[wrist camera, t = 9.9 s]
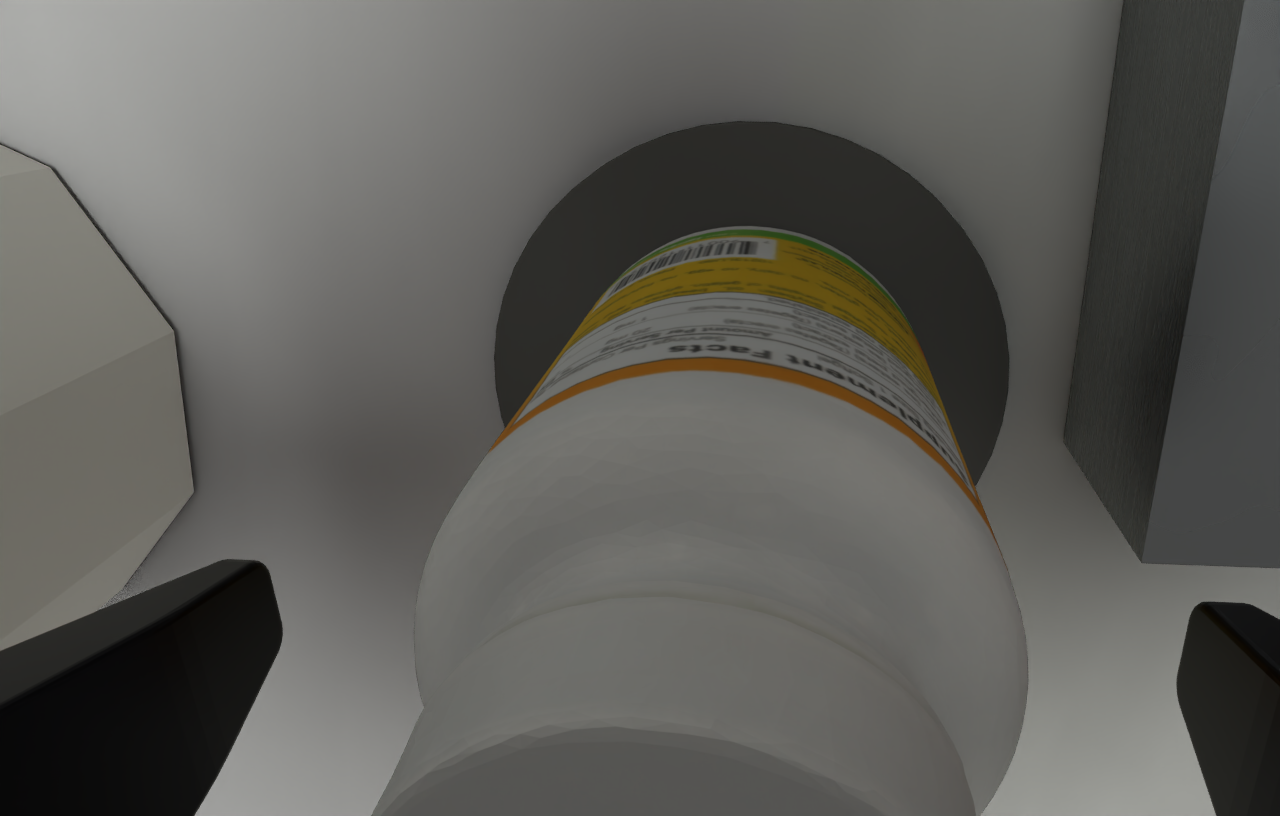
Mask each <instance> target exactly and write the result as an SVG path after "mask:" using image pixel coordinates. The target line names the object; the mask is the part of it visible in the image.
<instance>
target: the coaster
mask: <svg viewBox="0 0 1280 816" xmlns="http://www.w3.org/2000/svg"><path fill="white" fill-rule="evenodd" d="M733 226H757V227H769V228H776V229H782V230H787V231H791V232H796V233H800V234H803V235H806V236H809V237H812V238H815V239H817V240H819V241H822V242H824V243H826V244H828V245H831V246H832V247H834V248H836V249H837V250H839V251H841V252H843V253H844V254H846V255H848V256H850V257H851V258H852V259H853V260H855V261H856V262H857V263H858V264H860V265H861V266H862V267H863V268H865V269H866V270H867V271H868V272H869V273H871V274H872V275H873V276H874V277H875V278H876V279H877V280H878V281H879V282H880V283H881V284H882V285H883V286H884V287H885V289H886V290H887V291H888V292H889V293H890V295H891V296H892V297H893V298H894V300H895V301H896V303H897V304H898V305H899V307H900V308H901V310H902V311H903V313H904V315H905V317H906V318H907V320H908V322H909V323H910V325H911V327H912V329H913V331H914V333H915V335H916V337H917V339H918V342H919V344H920V346H921V349H922V351H923V353H924V356H925V359H926V361H927V364H928V366H929V369H930V372H931V374H932V377H933V379H934V382H935V385H936V388H937V390H938V393H939V396H940V398H941V401H942V403H943V406H944V409H945V411H946V414H947V417H948V419H949V422H950V425H951V427H952V430H953V432H954V435H955V437H956V440H957V443H958V445H959V448H960V450H961V453H962V456H963V458H964V461H965V463H966V466H967V468H968V471H969V474H970V476H971V479H972V481H973V484H974V486H975V485H976V484H977V482H978V481H979V479H980V477H981V475H982V473H983V471H984V469H985V467H986V465H987V463H988V461H989V459H990V457H991V455H992V452H993V449H994V446H995V443H996V440H997V437H998V434H999V431H1000V429H1001V426H1002V422H1003V416H1004V411H1005V406H1006V400H1007V395H1008V379H1009V352H1008V344H1007V335H1006V326H1005V322H1004V318H1003V314H1002V311H1001V307H1000V303H999V300H998V296H997V292H996V290H995V288H994V285H993V283H992V281H991V278H990V276H989V274H988V272H987V269H986V267H985V265H984V262H983V260H982V259H981V257H980V255H979V254H978V252H977V251H976V249H975V247H974V246H973V244H972V243H971V241H970V239H969V238H968V236H967V235H966V233H965V231H964V230H963V229H962V228H961V226H960V225H959V224H958V223H957V222H956V220H955V219H954V218H953V217H952V216H951V215H950V213H949V212H948V211H947V210H946V209H945V208H944V206H943V205H942V204H941V203H940V202H939V201H938V199H937V198H936V197H935V196H934V195H932V194H931V193H930V192H929V191H928V190H927V189H926V188H924V187H923V186H922V185H921V184H920V183H919V182H918V181H916V180H915V179H914V178H913V177H912V176H911V175H910V174H908V173H907V172H905V171H904V170H902V169H900V168H899V167H897V166H896V165H894V164H893V163H891V162H890V161H888V160H887V159H885V158H884V157H882V156H881V155H879V154H877V153H875V152H873V151H870V150H868V149H866V148H864V147H862V146H860V145H858V144H856V143H853V142H851V141H849V140H847V139H844V138H841V137H838V136H835V135H831V134H828V133H825V132H822V131H818V130H815V129H812V128H807V127H800V126H794V125H788V124H782V123H776V122H745V121H737V122H728V123H718V124H709V125H701V126H697V127H693V128H689V129H685V130H681V131H677V132H673V133H669V134H666V135H664V136H661V137H659V138H656V139H654V140H651V141H649V142H646V143H644V144H641V145H639V146H636V147H634V148H633V149H631V150H629V151H627V152H626V153H624V154H622V155H620V156H618V157H617V158H615V159H613V160H611V161H610V162H608V163H606V164H605V165H603V166H602V167H600V168H599V169H598V170H596V171H595V172H594V173H593V174H591V175H590V176H589V177H587V178H586V179H585V180H583V181H582V182H581V183H580V184H578V185H577V186H576V187H574V188H573V189H572V190H571V191H570V192H569V193H568V194H567V195H566V196H565V197H564V198H563V199H562V200H561V201H560V202H559V203H558V204H557V205H556V206H555V207H554V208H553V209H552V210H551V211H550V212H549V214H548V215H547V216H546V218H545V219H544V220H543V222H542V223H541V225H540V226H539V227H538V229H537V230H536V231H535V233H534V234H533V235H532V237H531V238H530V239H529V241H528V243H527V245H526V247H525V249H524V251H523V252H522V254H521V256H520V258H519V260H518V262H517V264H516V265H515V267H514V270H513V272H512V275H511V278H510V280H509V283H508V286H507V289H506V291H505V294H504V297H503V301H502V305H501V310H500V314H499V319H498V323H497V329H496V342H495V354H494V362H495V380H496V391H497V396H498V401H499V406H500V412H501V417H502V420H503V423H504V426H505V428H506V427H507V425H508V424H509V422H510V421H511V420H512V418H513V417H514V416H515V414H516V413H517V412H518V410H519V409H520V408H521V406H522V405H523V403H524V402H525V401H526V399H527V398H528V397H529V395H530V394H531V392H532V391H533V390H534V388H535V387H536V386H537V384H538V383H539V381H540V380H541V379H542V377H543V376H544V375H545V373H546V372H547V370H548V369H549V368H550V366H551V365H552V364H553V362H554V361H555V359H556V358H557V357H558V355H559V354H560V353H561V351H562V350H563V348H564V347H565V346H566V344H567V343H568V341H569V340H570V339H571V337H572V336H573V334H574V333H575V332H576V330H577V329H578V328H579V326H580V325H581V323H582V322H583V320H584V319H585V317H586V316H587V315H588V313H589V312H590V311H591V309H592V308H593V307H594V305H595V304H596V302H597V301H598V300H599V298H600V297H601V296H602V295H603V293H604V292H605V291H606V290H607V289H608V288H609V287H610V286H611V285H612V284H613V283H614V282H615V281H616V280H617V279H618V278H619V277H620V276H621V275H622V274H623V273H624V272H625V271H626V270H627V269H628V268H630V267H631V266H632V265H633V264H634V263H636V262H637V261H639V260H640V259H641V258H643V257H644V256H646V255H647V254H649V253H651V252H652V251H654V250H656V249H657V248H659V247H661V246H663V245H665V244H667V243H669V242H671V241H674V240H676V239H678V238H681V237H684V236H687V235H690V234H693V233H696V232H701V231H705V230H710V229H716V228H723V227H733Z"/></svg>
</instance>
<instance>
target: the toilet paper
mask: <svg viewBox="0 0 1280 816" xmlns="http://www.w3.org/2000/svg"><path fill="white" fill-rule="evenodd" d="M193 493H194V488H193V480H192V472H191V464H190V456H189V448H188V440H187V432H186V424H185V416H184V408H183V400H182V392H181V384H180V376H179V368H178V360H177V352H176V344H175V336H174V331H173V329H172V328H171V327H170V325H169V324H168V323H167V321H166V320H165V319H164V317H163V316H162V315H161V313H160V312H159V311H158V310H157V308H156V307H155V306H154V304H153V303H152V302H151V300H150V299H149V298H148V296H147V295H146V294H145V292H144V291H143V290H142V288H141V287H140V286H139V284H138V283H137V282H136V280H135V279H134V278H133V276H132V275H131V274H130V272H129V271H128V270H127V269H126V267H125V266H124V265H123V263H122V262H121V261H120V259H119V258H118V257H117V255H116V254H115V253H114V251H113V250H112V249H111V247H110V246H109V245H108V243H107V242H106V241H105V239H104V238H103V237H102V235H101V234H100V233H99V232H98V230H97V229H96V228H95V226H94V225H93V224H92V222H91V221H90V220H89V218H88V217H87V216H86V214H85V213H84V212H83V210H82V209H81V208H80V206H79V205H78V204H77V202H76V201H75V200H74V198H73V197H72V196H71V195H70V193H69V192H68V191H67V189H66V188H65V187H64V185H63V184H62V183H61V181H60V180H59V179H58V177H57V176H56V175H55V173H54V172H53V171H52V169H51V168H50V167H48V166H46V165H44V164H41V163H39V162H37V161H35V160H33V159H31V158H28V157H26V156H24V155H22V154H20V153H18V152H15V151H13V150H11V149H9V148H7V147H5V146H2V145H0V651H1V650H3V649H6V648H8V647H11V646H13V645H16V644H18V643H20V642H23V641H25V640H28V639H30V638H33V637H35V636H38V635H40V634H42V633H45V632H47V631H50V630H52V629H55V628H57V627H60V626H62V625H64V624H67V623H69V622H72V621H74V620H77V619H79V618H82V617H84V616H86V615H89V614H91V613H94V612H96V611H97V610H98V609H99V608H100V607H102V606H103V605H104V604H105V603H106V602H108V601H109V600H110V599H111V598H112V597H114V596H115V595H116V594H117V593H118V592H120V591H121V590H122V589H123V587H124V586H125V585H126V583H127V582H128V581H129V579H130V578H131V577H132V575H133V574H134V572H135V571H136V570H137V568H138V567H139V566H140V564H141V563H142V562H143V560H144V559H145V558H146V556H147V555H148V554H149V552H150V551H151V550H152V548H153V547H154V545H155V544H156V543H157V541H158V540H159V539H160V537H161V536H162V535H163V533H164V532H165V531H166V529H167V528H168V527H169V525H170V524H171V523H172V521H173V520H174V518H175V517H176V516H177V514H178V513H179V512H180V510H181V509H182V508H183V506H184V505H185V504H186V502H187V501H188V500H189V498H190V497H191V496H192V494H193Z"/></svg>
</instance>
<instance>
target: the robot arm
mask: <svg viewBox="0 0 1280 816" xmlns="http://www.w3.org/2000/svg"><path fill="white" fill-rule="evenodd" d="M282 636H283V627H282V621H281V617H280V613H279V609H278V605H277V601H276V597H275V593H274V588H273V584H272V580H271V576H270V573H269V570H268V569H267V567H266V566H265V565H264V564H263V563H261V562H260V561H256V560H236V559H226V560H221V561H218V562H216V563H213V564H211V565H208V566H206V567H204V568H201V569H199V570H196V571H194V572H191V573H189V574H187V575H184V576H182V577H179V578H177V579H174V580H172V581H169V582H167V583H165V584H162V585H160V586H157V587H155V588H152V589H150V590H147V591H145V592H143V593H140V594H138V595H135V596H133V597H130V598H128V599H125V600H123V601H121V602H118V603H116V604H113V605H111V606H108V607H106V608H103V609H101V610H99V611H96V612H94V613H91V614H89V615H86V616H84V617H82V618H79V619H77V620H74V621H72V622H69V623H67V624H64V625H62V626H60V627H57V628H55V629H52V630H50V631H47V632H45V633H42V634H40V635H38V636H35V637H33V638H30V639H28V640H25V641H23V642H20V643H18V644H16V645H13V646H11V647H8V648H6V649H3V650H1V651H0V816H194V815H195V814H196V812H197V810H198V809H199V807H200V805H201V804H202V802H203V801H204V799H205V797H206V795H207V794H208V792H209V790H210V789H211V787H212V785H213V783H214V782H215V780H216V778H217V776H218V774H219V772H220V771H221V769H222V767H223V765H224V763H225V761H226V759H227V757H228V755H229V753H230V751H231V749H232V747H233V745H234V743H235V741H236V739H237V737H238V735H239V732H240V730H241V728H242V726H243V724H244V722H245V720H246V718H247V716H248V714H249V712H250V710H251V708H252V706H253V703H254V701H255V699H256V697H257V695H258V693H259V691H260V689H261V687H262V685H263V683H264V681H265V679H266V677H267V675H268V672H269V670H270V668H271V666H272V664H273V662H274V660H275V658H276V656H277V654H278V652H279V649H280V646H281V642H282ZM1177 696H1178V701H1179V705H1180V708H1181V711H1182V714H1183V717H1184V720H1185V723H1186V726H1187V729H1188V732H1189V735H1190V738H1191V741H1192V744H1193V747H1194V750H1195V753H1196V756H1197V759H1198V762H1199V765H1200V768H1201V771H1202V774H1203V777H1204V780H1205V783H1206V786H1207V789H1208V792H1209V795H1210V798H1211V801H1212V804H1213V807H1214V810H1215V813H1216V816H1280V620H1279V619H1277V618H1275V617H1274V616H1272V615H1270V614H1268V613H1266V612H1264V611H1262V610H1260V609H1259V608H1257V607H1255V606H1253V605H1250V604H1245V603H1229V602H1201V603H1200V604H1198V605H1197V606H1195V607H1194V609H1193V611H1192V613H1191V615H1190V618H1189V623H1188V627H1187V632H1186V637H1185V641H1184V646H1183V651H1182V656H1181V660H1180V665H1179V670H1178V675H1177Z"/></svg>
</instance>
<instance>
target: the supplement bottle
mask: <svg viewBox="0 0 1280 816" xmlns="http://www.w3.org/2000/svg"><path fill="white" fill-rule="evenodd" d="M414 648H415V665H416V674H417V681H418V686H419V691H420V695H421V699H422V703H423V706H424V709H423V711H422V713H421V715H420V717H419V719H418V721H417V722H416V724H415V727H414V729H413V731H412V734H411V736H410V739H409V741H408V743H407V746H406V748H405V750H404V752H403V754H402V756H401V759H400V761H399V763H398V765H397V767H396V769H395V771H394V774H393V776H392V778H391V780H390V782H389V783H388V785H387V787H386V789H385V791H384V793H383V795H382V797H381V798H380V800H379V802H378V804H377V806H376V808H375V810H374V812H373V814H372V815H371V816H980V815H981V813H982V812H983V811H984V809H985V808H986V806H987V805H988V804H989V802H990V801H991V799H992V798H993V796H994V794H995V793H996V791H997V789H998V787H999V785H1000V784H1001V782H1002V780H1003V778H1004V776H1005V774H1006V772H1007V770H1008V767H1009V765H1010V763H1011V760H1012V758H1013V756H1014V753H1015V750H1016V746H1017V743H1018V740H1019V736H1020V733H1021V729H1022V725H1023V719H1024V714H1025V708H1026V701H1027V691H1028V656H1027V646H1026V637H1025V632H1024V627H1023V622H1022V617H1021V613H1020V608H1019V605H1018V602H1017V599H1016V596H1015V592H1014V589H1013V586H1012V583H1011V579H1010V576H1009V573H1008V569H1007V567H1006V564H1005V562H1004V559H1003V557H1002V554H1001V551H1000V549H999V546H998V544H997V541H996V539H995V536H994V534H993V531H992V529H991V526H990V524H989V521H988V519H987V516H986V514H985V511H984V509H983V506H982V504H981V501H980V499H979V496H978V494H977V491H976V489H975V486H974V484H973V481H972V479H971V476H970V474H969V471H968V468H967V466H966V463H965V461H964V458H963V456H962V453H961V450H960V448H959V445H958V443H957V440H956V437H955V435H954V432H953V430H952V427H951V425H950V422H949V419H948V417H947V414H946V411H945V409H944V406H943V403H942V401H941V398H940V396H939V393H938V390H937V388H936V385H935V382H934V379H933V377H932V374H931V372H930V369H929V366H928V364H927V361H926V359H925V356H924V353H923V351H922V349H921V346H920V344H919V342H918V339H917V337H916V335H915V333H914V331H913V329H912V327H911V325H910V323H909V322H908V320H907V318H906V317H905V315H904V313H903V311H902V310H901V308H900V307H899V305H898V304H897V303H896V301H895V300H894V298H893V297H892V296H891V295H890V293H889V292H888V291H887V290H886V289H885V287H884V286H883V285H882V284H881V283H880V282H879V281H878V280H877V279H876V278H875V277H874V276H873V275H872V274H871V273H869V272H868V271H867V270H866V269H865V268H863V267H862V266H861V265H860V264H858V263H857V262H856V261H855V260H853V259H852V258H851V257H850V256H848V255H846V254H844V253H843V252H841V251H839V250H837V249H836V248H834V247H832V246H831V245H828V244H826V243H824V242H822V241H819V240H817V239H815V238H812V237H809V236H806V235H803V234H800V233H796V232H791V231H787V230H782V229H776V228H769V227H757V226H733V227H723V228H716V229H710V230H705V231H701V232H696V233H693V234H690V235H687V236H684V237H681V238H678V239H676V240H674V241H671V242H669V243H667V244H665V245H663V246H661V247H659V248H657V249H656V250H654V251H652V252H651V253H649V254H647V255H646V256H644V257H643V258H641V259H640V260H639V261H637V262H636V263H634V264H633V265H632V266H631V267H630V268H628V269H627V270H626V271H625V272H624V273H623V274H622V275H621V276H620V277H619V278H618V279H617V280H616V281H615V282H614V283H613V284H612V285H611V286H610V287H609V288H608V289H607V290H606V291H605V292H604V293H603V295H602V296H601V297H600V298H599V300H598V301H597V302H596V304H595V305H594V307H593V308H592V309H591V311H590V312H589V313H588V315H587V316H586V317H585V319H584V320H583V322H582V323H581V325H580V326H579V328H578V329H577V330H576V332H575V333H574V334H573V336H572V337H571V339H570V340H569V341H568V343H567V344H566V346H565V347H564V348H563V350H562V351H561V353H560V354H559V355H558V357H557V358H556V359H555V361H554V362H553V364H552V365H551V366H550V368H549V369H548V370H547V372H546V373H545V375H544V376H543V377H542V379H541V380H540V381H539V383H538V384H537V386H536V387H535V388H534V390H533V391H532V392H531V394H530V395H529V397H528V398H527V399H526V401H525V402H524V403H523V405H522V406H521V408H520V409H519V410H518V412H517V413H516V414H515V416H514V417H513V418H512V420H511V421H510V422H509V424H508V425H507V427H506V428H505V430H504V431H503V432H502V434H501V435H500V436H499V437H498V439H497V440H496V442H495V443H494V445H493V446H492V447H491V449H490V450H489V452H488V453H487V455H486V456H485V457H484V459H483V460H482V462H481V463H480V465H479V466H478V467H477V469H476V470H475V472H474V473H473V475H472V476H471V478H470V479H469V481H468V482H467V484H466V485H465V487H464V488H463V490H462V491H461V493H460V494H459V496H458V498H457V499H456V501H455V503H454V504H453V506H452V508H451V509H450V511H449V513H448V515H447V516H446V518H445V520H444V522H443V524H442V526H441V528H440V530H439V532H438V534H437V536H436V538H435V540H434V542H433V544H432V547H431V550H430V552H429V555H428V558H427V561H426V563H425V566H424V570H423V574H422V578H421V581H420V585H419V589H418V596H417V602H416V608H415V621H414Z"/></svg>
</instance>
